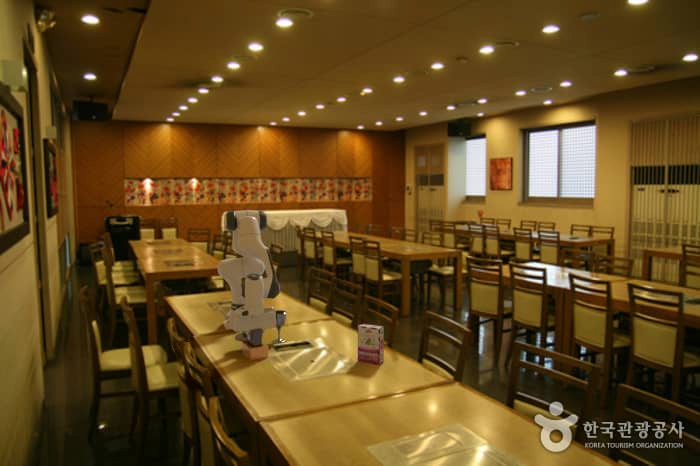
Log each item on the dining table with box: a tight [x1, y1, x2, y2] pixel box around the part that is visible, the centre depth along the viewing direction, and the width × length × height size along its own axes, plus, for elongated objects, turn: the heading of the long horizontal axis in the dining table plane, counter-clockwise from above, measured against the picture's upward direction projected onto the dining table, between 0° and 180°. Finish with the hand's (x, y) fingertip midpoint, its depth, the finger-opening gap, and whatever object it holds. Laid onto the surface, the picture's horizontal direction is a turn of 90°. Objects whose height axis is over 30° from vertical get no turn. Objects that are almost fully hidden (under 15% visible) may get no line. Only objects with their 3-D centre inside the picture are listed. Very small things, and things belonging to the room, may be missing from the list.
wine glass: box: [271, 309, 288, 344], centre depth 272 cm, size 8×8×15 cm
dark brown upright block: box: [249, 329, 263, 347], centre depth 249 cm, size 6×4×10 cm, turn 31°
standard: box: [234, 331, 269, 361], centre depth 253 cm, size 21×12×20 cm, turn 31°
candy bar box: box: [357, 323, 385, 365], centre depth 242 cm, size 11×5×16 cm, turn 62°
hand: (255, 338), depth 249 cm, fingers closed on dark brown upright block, 4 cm apart
